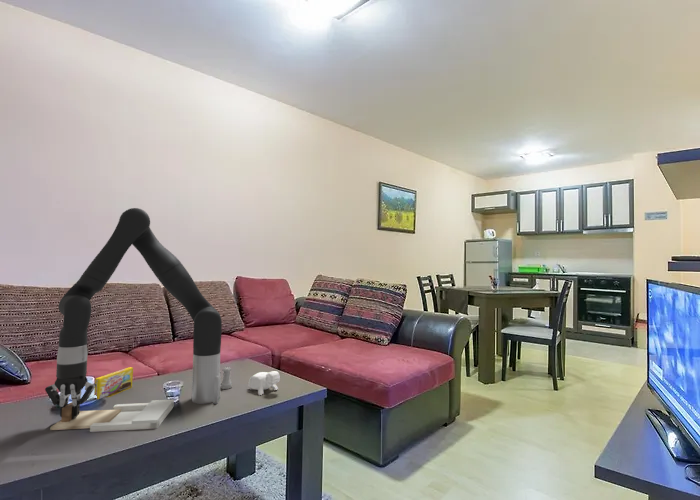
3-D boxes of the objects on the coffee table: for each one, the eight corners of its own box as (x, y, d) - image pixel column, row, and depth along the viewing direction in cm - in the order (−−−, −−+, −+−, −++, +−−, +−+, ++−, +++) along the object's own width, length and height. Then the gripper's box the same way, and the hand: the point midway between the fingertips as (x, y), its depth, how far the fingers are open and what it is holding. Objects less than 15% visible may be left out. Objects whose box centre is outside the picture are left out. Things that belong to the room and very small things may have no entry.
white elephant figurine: (247, 398, 149) (270, 392, 140) (243, 376, 151) (265, 369, 142) (265, 393, 155) (288, 387, 147) (261, 372, 158) (283, 365, 149)
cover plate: (120, 411, 124) (121, 396, 124) (103, 427, 112) (104, 410, 112) (72, 413, 121) (73, 398, 122) (50, 430, 110) (51, 413, 110)
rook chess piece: (225, 390, 149) (226, 369, 150) (217, 388, 152) (218, 367, 152) (234, 387, 153) (235, 367, 154) (227, 385, 156) (227, 365, 156)
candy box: (98, 402, 135) (99, 378, 135) (93, 402, 135) (94, 378, 135) (132, 388, 151) (133, 366, 151) (128, 387, 151) (129, 366, 151)
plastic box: (173, 409, 129) (173, 399, 129) (157, 431, 112) (157, 419, 112) (115, 412, 126) (116, 401, 126) (89, 435, 109) (90, 423, 109)
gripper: (102, 356, 121) (100, 412, 121) (54, 357, 119) (51, 414, 118) (91, 362, 114) (88, 421, 113) (39, 364, 112) (36, 424, 111)
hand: (69, 417), depth 116 cm, fingers closed on cover plate
